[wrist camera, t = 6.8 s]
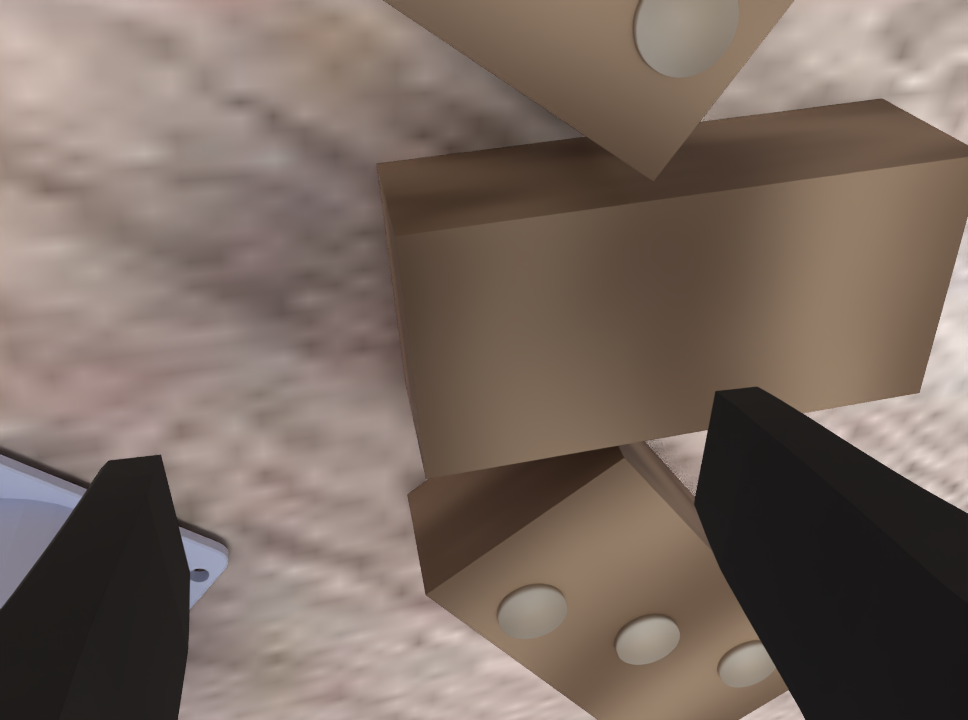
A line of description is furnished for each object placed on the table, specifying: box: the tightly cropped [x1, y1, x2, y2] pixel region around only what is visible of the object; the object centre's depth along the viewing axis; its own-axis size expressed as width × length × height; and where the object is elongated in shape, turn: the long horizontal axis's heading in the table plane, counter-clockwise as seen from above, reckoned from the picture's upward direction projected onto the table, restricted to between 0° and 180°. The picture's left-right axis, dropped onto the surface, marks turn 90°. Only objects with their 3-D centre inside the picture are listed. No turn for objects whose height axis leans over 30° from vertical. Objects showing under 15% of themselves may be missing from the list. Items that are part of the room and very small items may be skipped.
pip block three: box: [408, 441, 789, 720], centre depth 26 cm, size 12×6×4 cm, turn 37°
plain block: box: [377, 99, 968, 479], centre depth 20 cm, size 12×6×4 cm, turn 93°
